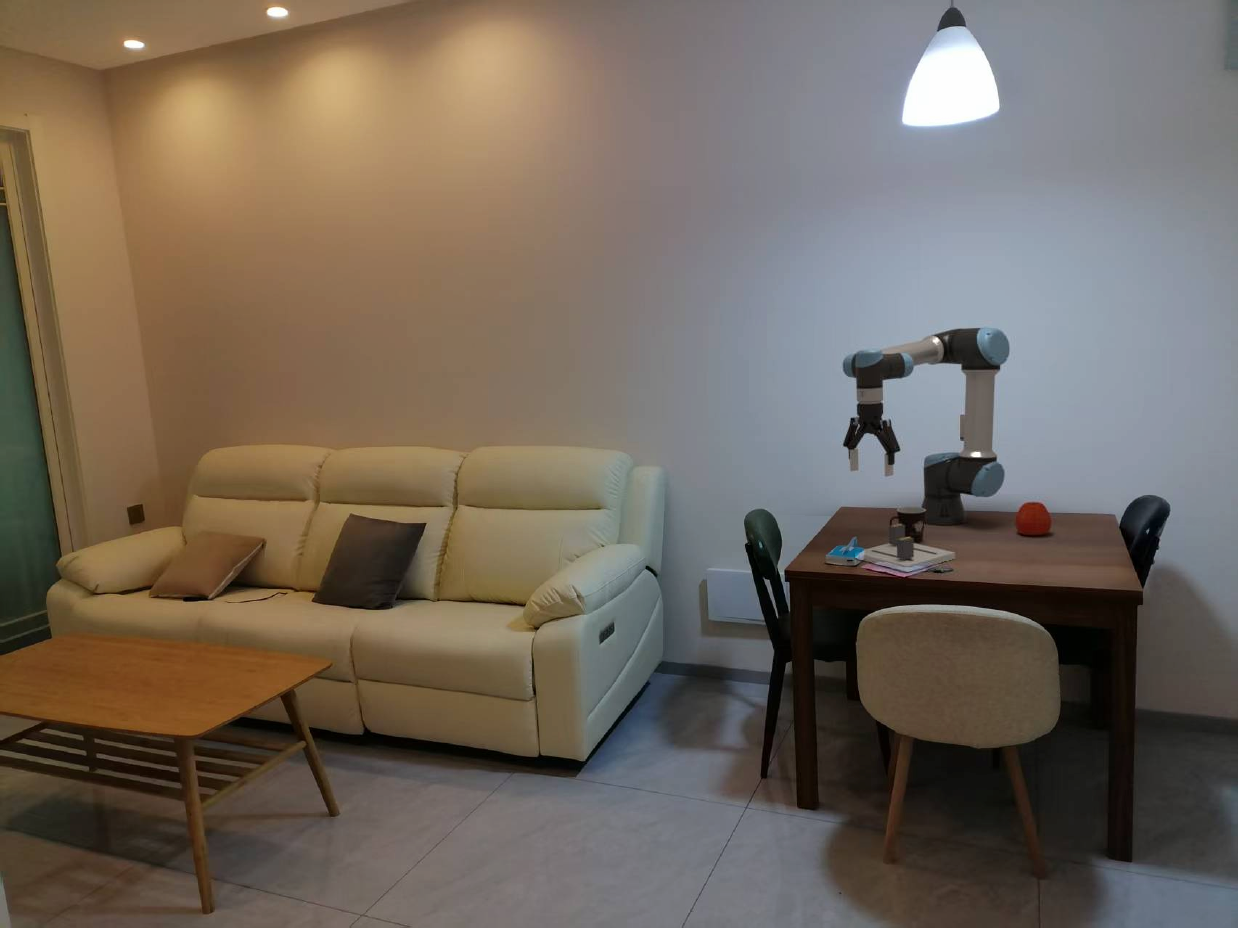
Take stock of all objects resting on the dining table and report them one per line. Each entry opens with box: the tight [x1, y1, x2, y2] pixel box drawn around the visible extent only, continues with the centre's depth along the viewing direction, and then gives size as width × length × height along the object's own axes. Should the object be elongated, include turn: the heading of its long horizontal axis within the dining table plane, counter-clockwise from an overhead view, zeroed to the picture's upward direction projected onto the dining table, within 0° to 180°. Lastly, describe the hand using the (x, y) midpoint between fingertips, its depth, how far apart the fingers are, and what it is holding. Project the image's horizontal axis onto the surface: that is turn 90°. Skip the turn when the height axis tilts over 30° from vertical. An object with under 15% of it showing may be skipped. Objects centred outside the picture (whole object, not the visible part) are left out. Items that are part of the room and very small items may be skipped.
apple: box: [1014, 501, 1052, 536], centre depth 275 cm, size 10×10×10 cm
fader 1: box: [888, 523, 905, 545], centre depth 266 cm, size 4×2×6 cm, turn 121°
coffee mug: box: [889, 506, 926, 544], centre depth 277 cm, size 12×9×10 cm
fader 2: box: [897, 537, 914, 560], centre depth 251 cm, size 4×2×6 cm, turn 121°
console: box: [863, 542, 956, 567], centre depth 258 cm, size 20×20×2 cm
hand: (871, 473), depth 262 cm, fingers open, 13 cm apart
